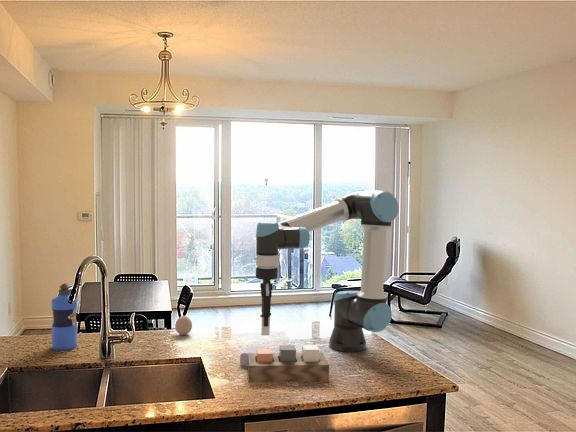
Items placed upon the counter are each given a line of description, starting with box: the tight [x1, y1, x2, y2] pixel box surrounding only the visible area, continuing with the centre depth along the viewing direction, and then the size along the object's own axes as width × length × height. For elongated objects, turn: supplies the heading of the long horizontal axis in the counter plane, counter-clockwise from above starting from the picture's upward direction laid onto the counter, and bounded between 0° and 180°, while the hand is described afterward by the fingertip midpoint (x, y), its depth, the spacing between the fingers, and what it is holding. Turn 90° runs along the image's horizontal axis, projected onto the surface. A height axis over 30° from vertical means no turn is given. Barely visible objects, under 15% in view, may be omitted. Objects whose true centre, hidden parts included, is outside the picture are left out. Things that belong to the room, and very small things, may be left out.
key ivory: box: [301, 344, 320, 362], centre depth 180 cm, size 5×5×6 cm
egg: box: [174, 315, 193, 336], centre depth 224 cm, size 7×7×8 cm
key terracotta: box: [256, 348, 274, 362], centre depth 179 cm, size 5×5×6 cm
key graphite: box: [278, 344, 297, 362], centre depth 179 cm, size 5×5×6 cm
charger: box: [239, 345, 270, 367], centre depth 194 cm, size 5×9×15 cm
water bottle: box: [51, 283, 79, 352], centre depth 202 cm, size 9×9×25 cm
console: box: [247, 352, 330, 383], centre depth 180 cm, size 27×13×6 cm, turn 96°
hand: (265, 334), depth 178 cm, fingers closed
